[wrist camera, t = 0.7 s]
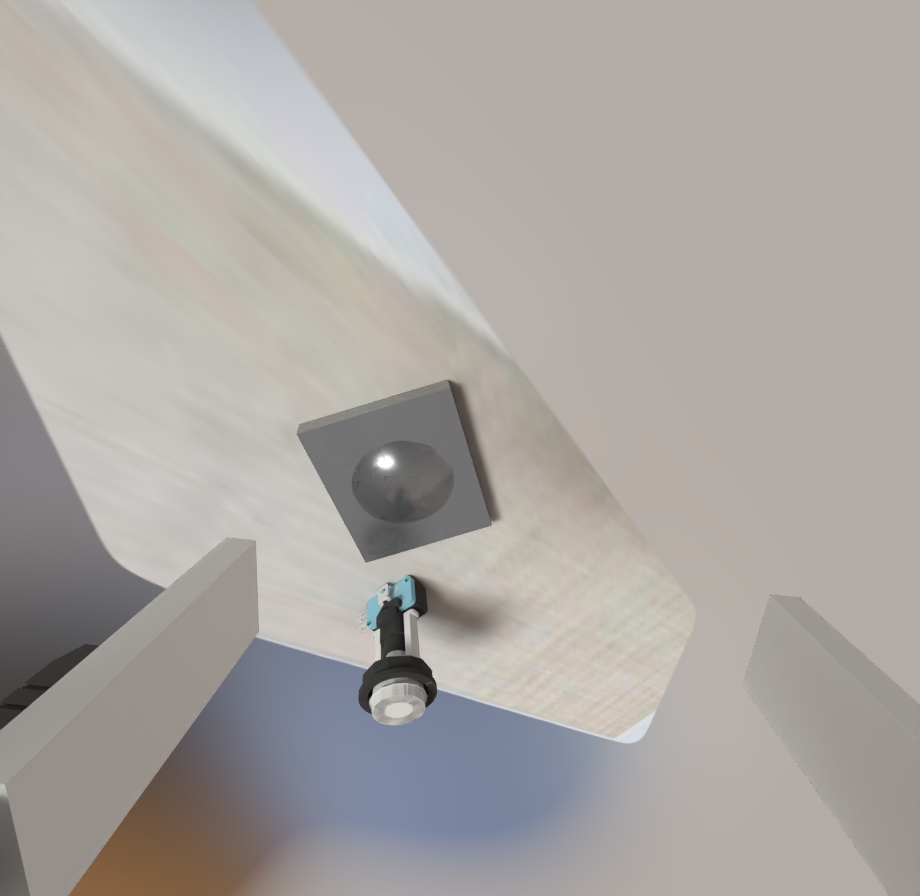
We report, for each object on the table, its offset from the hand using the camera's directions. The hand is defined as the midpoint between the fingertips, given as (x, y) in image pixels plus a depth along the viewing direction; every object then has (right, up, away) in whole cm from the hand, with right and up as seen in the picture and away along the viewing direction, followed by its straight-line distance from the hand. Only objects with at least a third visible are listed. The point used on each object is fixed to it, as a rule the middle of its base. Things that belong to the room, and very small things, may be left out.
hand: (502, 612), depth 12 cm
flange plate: (-5, +2, +21) cm, 22 cm away
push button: (-7, -8, +28) cm, 30 cm away
